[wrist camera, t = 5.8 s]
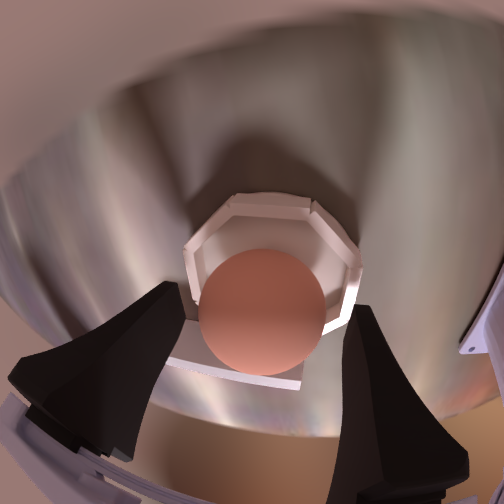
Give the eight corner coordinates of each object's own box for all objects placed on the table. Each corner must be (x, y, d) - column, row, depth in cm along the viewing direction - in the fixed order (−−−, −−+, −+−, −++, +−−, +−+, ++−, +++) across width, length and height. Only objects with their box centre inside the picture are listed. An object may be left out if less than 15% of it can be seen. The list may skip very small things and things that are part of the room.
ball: (333, 231, 11) (338, 322, 7) (319, 317, 14) (312, 404, 10) (214, 221, 12) (163, 299, 8) (224, 306, 15) (192, 385, 11)
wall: (307, 337, 15) (301, 381, 13) (305, 348, 16) (299, 390, 14) (178, 317, 17) (157, 353, 15) (181, 327, 18) (162, 363, 15)
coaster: (368, 199, 10) (373, 214, 9) (340, 330, 15) (340, 350, 13) (188, 188, 12) (174, 200, 11) (208, 313, 16) (200, 330, 15)
